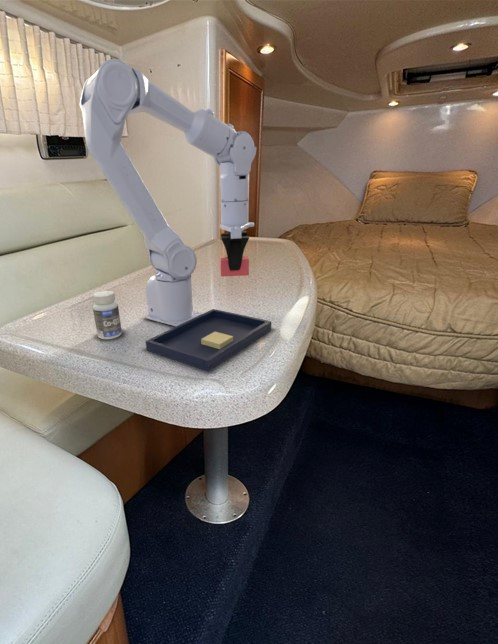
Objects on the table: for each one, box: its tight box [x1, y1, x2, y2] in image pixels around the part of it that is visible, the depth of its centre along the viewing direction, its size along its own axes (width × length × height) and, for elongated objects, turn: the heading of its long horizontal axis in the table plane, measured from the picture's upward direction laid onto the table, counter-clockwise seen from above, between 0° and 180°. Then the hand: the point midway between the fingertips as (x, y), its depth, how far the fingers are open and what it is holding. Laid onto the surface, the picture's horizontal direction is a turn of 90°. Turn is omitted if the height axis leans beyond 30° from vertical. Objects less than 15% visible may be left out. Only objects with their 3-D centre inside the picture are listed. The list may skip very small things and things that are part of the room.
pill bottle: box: [92, 290, 123, 340], centre depth 69 cm, size 5×5×8 cm
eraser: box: [219, 255, 250, 277], centre depth 79 cm, size 6×3×4 cm, turn 86°
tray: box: [145, 308, 272, 372], centre depth 66 cm, size 14×20×2 cm
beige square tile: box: [201, 332, 233, 349], centre depth 63 cm, size 4×4×1 cm
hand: (234, 267), depth 80 cm, fingers closed on eraser, 3 cm apart
